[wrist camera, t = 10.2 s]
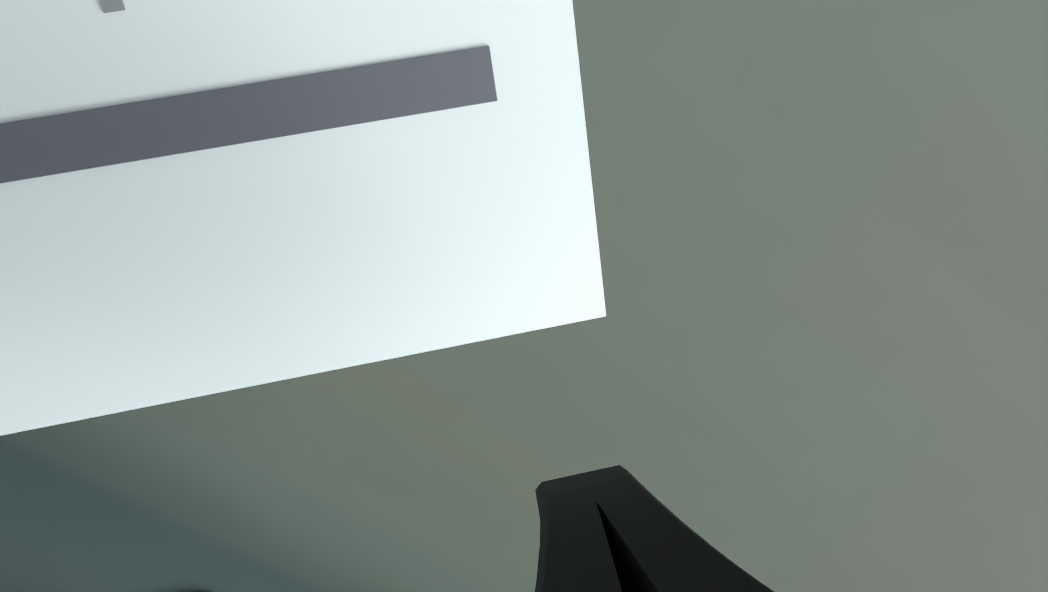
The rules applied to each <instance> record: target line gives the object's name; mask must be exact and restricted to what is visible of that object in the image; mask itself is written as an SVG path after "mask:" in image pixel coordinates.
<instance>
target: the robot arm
mask: <svg viewBox="0 0 1048 592" xmlns="http://www.w3.org/2000/svg"><path fill="white" fill-rule="evenodd" d="M536 496H537V502H538V509H539V515H540V550H539V561H538V571H537V581H536V588H535V592H774V591H772V590H771V589H769V588H768V587H766V586H765V585H764V584H762V583H761V582H759V581H758V580H756V579H755V578H754V577H752V576H751V575H749V574H748V573H747V572H745V571H744V570H743V569H741V568H740V567H738V566H737V565H736V564H734V563H733V562H732V561H730V560H729V559H728V558H726V557H725V556H724V555H723V554H721V553H720V552H719V551H717V550H716V549H715V548H714V547H712V546H711V545H710V544H709V543H707V542H706V541H705V540H704V539H703V538H701V537H700V536H699V535H698V534H696V533H695V532H694V531H693V530H692V529H690V528H689V527H688V526H687V525H685V524H684V523H683V522H682V521H681V520H680V519H679V518H677V517H676V516H675V515H674V514H673V513H672V512H671V511H669V510H668V509H667V508H666V507H665V506H664V505H663V504H662V503H661V502H659V501H658V500H657V499H656V498H655V497H654V496H653V495H652V494H651V493H650V492H649V491H648V490H647V489H646V488H645V487H643V486H642V485H641V484H640V483H639V482H638V481H637V480H636V479H635V478H634V477H633V476H632V475H631V474H630V473H629V472H628V471H627V470H626V469H624V468H623V467H621V466H620V465H618V466H613V467H609V468H604V469H599V470H595V471H590V472H586V473H581V474H576V475H572V476H567V477H563V478H558V479H553V480H549V481H544V482H541V484H540V485H539V486H538V487H537V489H536Z"/></svg>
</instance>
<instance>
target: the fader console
mask: <svg viewBox="0 0 1048 592" xmlns="http://www.w3.org/2000/svg"><path fill="white" fill-rule="evenodd" d="M604 316H606V311H605V301H604V292H603V283H602V273H601V264H600V255H599V245H598V236H597V227H596V217H595V208H594V199H593V190H592V180H591V171H590V162H589V152H588V143H587V134H586V124H585V115H584V106H583V97H582V87H581V78H580V69H579V59H578V50H577V41H576V31H575V22H574V13H573V3H572V0H0V436H1V435H6V434H11V433H16V432H21V431H26V430H31V429H36V428H41V427H46V426H51V425H57V424H62V423H67V422H72V421H77V420H82V419H87V418H92V417H97V416H102V415H107V414H112V413H117V412H122V411H128V410H133V409H138V408H143V407H148V406H153V405H158V404H163V403H168V402H173V401H178V400H183V399H188V398H193V397H199V396H204V395H209V394H214V393H219V392H224V391H229V390H234V389H239V388H244V387H249V386H254V385H259V384H265V383H270V382H275V381H280V380H285V379H290V378H295V377H300V376H305V375H310V374H315V373H320V372H325V371H330V370H336V369H341V368H346V367H351V366H356V365H361V364H366V363H371V362H376V361H381V360H386V359H391V358H396V357H401V356H407V355H412V354H417V353H422V352H427V351H432V350H437V349H442V348H447V347H452V346H457V345H462V344H467V343H472V342H478V341H483V340H488V339H493V338H498V337H503V336H508V335H513V334H518V333H523V332H528V331H533V330H538V329H543V328H549V327H554V326H559V325H564V324H569V323H574V322H579V321H584V320H589V319H594V318H599V317H604Z"/></svg>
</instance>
